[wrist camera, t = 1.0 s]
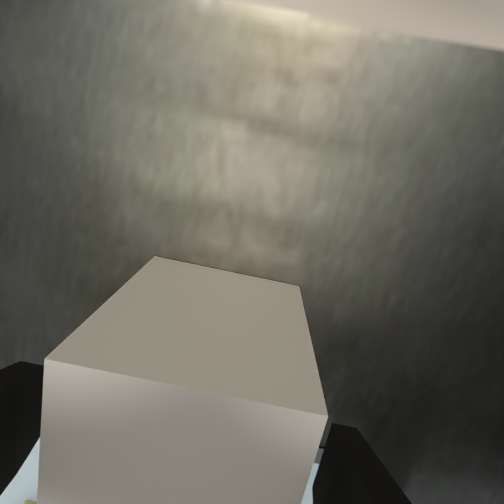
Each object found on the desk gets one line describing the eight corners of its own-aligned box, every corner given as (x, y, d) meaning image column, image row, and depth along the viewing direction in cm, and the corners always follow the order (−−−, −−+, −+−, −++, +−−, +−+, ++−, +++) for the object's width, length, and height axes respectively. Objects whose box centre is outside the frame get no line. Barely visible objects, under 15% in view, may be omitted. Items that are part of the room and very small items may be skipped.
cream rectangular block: (299, 285, 13) (328, 416, 7) (268, 407, 14) (267, 610, 8) (154, 255, 13) (44, 358, 7) (137, 381, 14) (33, 565, 8)
